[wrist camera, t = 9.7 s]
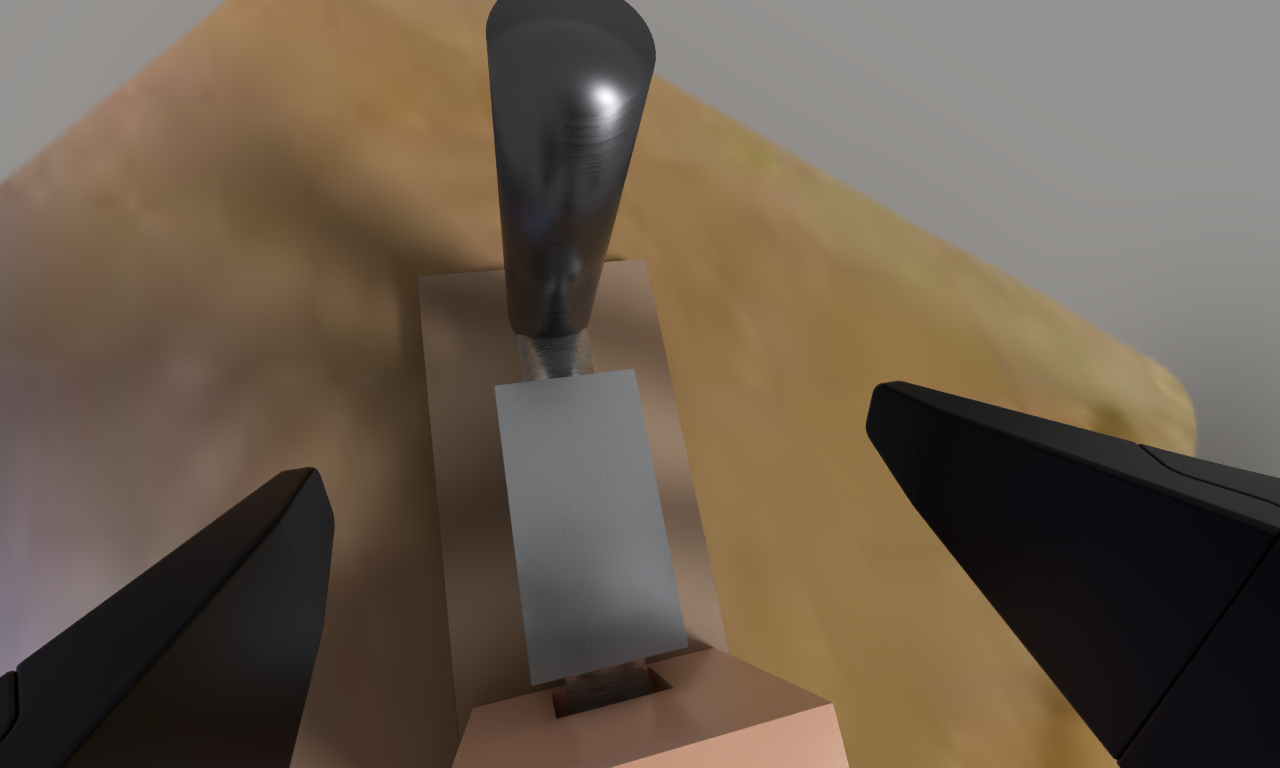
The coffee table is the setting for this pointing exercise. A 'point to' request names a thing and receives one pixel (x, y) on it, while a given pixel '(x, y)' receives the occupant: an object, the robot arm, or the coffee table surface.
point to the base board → (476, 483)
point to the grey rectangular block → (586, 525)
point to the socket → (664, 724)
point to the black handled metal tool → (565, 194)
